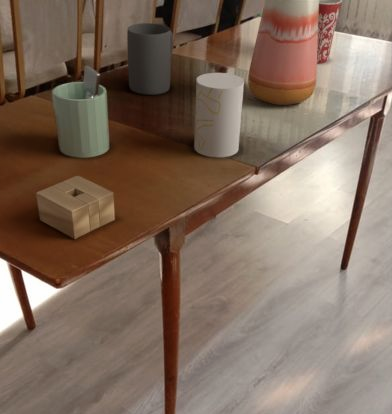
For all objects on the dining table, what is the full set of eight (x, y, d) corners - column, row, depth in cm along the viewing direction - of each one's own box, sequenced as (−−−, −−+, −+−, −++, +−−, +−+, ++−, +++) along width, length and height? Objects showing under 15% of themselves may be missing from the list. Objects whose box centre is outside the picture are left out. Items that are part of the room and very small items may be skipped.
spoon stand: (74, 239, 90) (71, 211, 87) (39, 220, 93) (35, 192, 91) (115, 219, 94) (113, 192, 91) (80, 202, 98) (77, 175, 95)
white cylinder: (186, 143, 116) (188, 76, 108) (224, 136, 119) (229, 70, 111) (207, 160, 111) (210, 91, 103) (246, 152, 114) (252, 85, 106)
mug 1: (155, 98, 133) (155, 37, 125) (120, 89, 136) (118, 29, 129) (188, 81, 142) (190, 23, 134) (155, 73, 145) (154, 16, 138)
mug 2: (337, 57, 159) (347, -3, 150) (324, 67, 153) (333, 5, 144) (291, 48, 164) (299, -10, 155) (276, 57, 158) (283, -4, 149)
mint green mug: (119, 147, 114) (117, 91, 107) (82, 162, 109) (76, 104, 102) (76, 128, 120) (71, 74, 113) (38, 142, 114) (30, 85, 108)
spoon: (87, 148, 112) (96, 75, 101) (76, 139, 113) (83, 66, 102) (92, 146, 113) (101, 73, 102) (81, 137, 114) (89, 64, 103)
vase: (325, 98, 137) (352, -63, 117) (289, 115, 128) (312, -54, 109) (270, 82, 144) (288, -73, 124) (233, 97, 135) (245, -66, 115)
